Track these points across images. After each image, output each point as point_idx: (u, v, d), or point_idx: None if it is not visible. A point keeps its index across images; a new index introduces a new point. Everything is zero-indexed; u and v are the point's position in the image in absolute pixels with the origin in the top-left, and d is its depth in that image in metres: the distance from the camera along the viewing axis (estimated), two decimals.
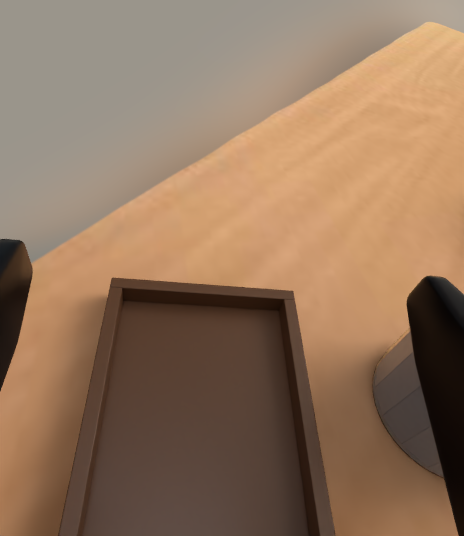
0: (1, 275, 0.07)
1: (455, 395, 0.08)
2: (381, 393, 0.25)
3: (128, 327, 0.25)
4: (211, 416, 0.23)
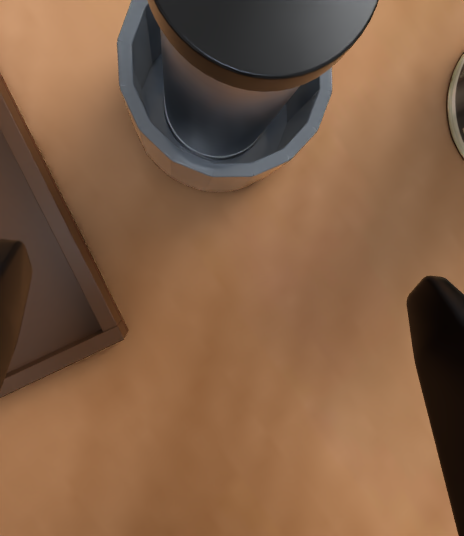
0: (1, 275, 0.07)
1: (455, 395, 0.08)
2: (136, 131, 0.20)
3: None
4: None
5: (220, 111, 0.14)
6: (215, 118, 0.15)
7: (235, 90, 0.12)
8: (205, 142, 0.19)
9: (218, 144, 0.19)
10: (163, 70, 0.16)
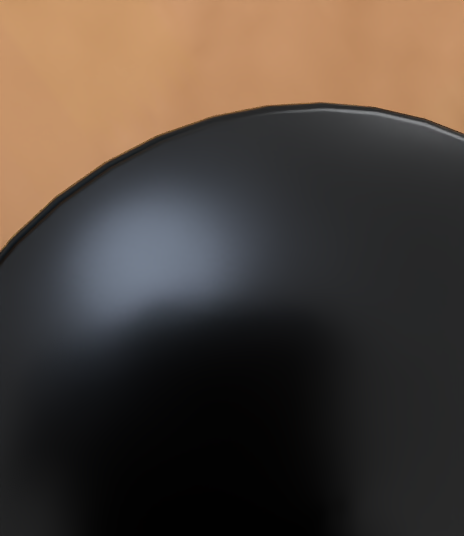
0: None
1: None
2: None
3: None
4: None
5: None
6: None
7: None
8: None
9: None
10: None
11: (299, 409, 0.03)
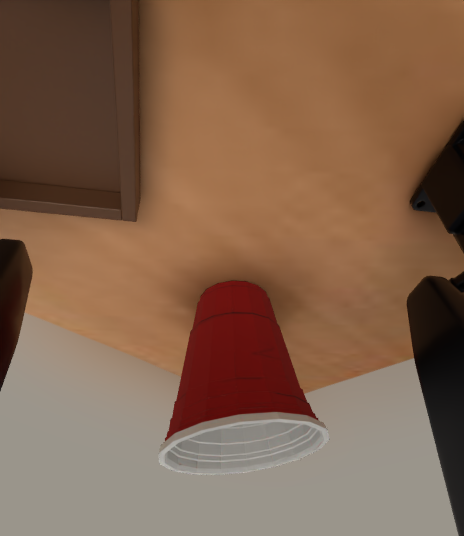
0: (1, 275, 0.07)
1: (455, 395, 0.08)
2: None
3: None
4: None
5: None
6: None
7: None
8: None
9: None
10: None
11: None
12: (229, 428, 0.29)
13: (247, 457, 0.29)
